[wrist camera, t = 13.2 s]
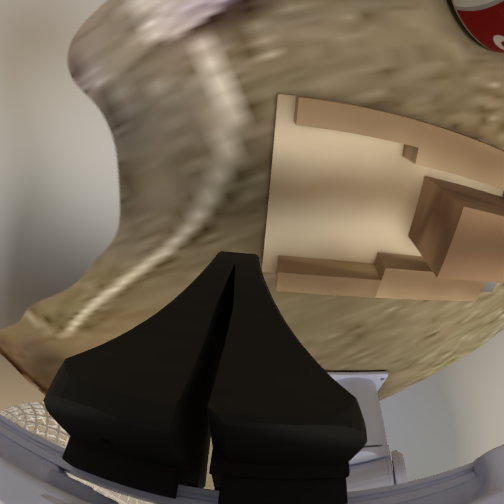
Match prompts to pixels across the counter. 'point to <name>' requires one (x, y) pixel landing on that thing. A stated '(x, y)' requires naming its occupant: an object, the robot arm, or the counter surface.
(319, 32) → the counter surface
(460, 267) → the tan upright prism
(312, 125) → the tapered wooden tray
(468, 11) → the soda can
